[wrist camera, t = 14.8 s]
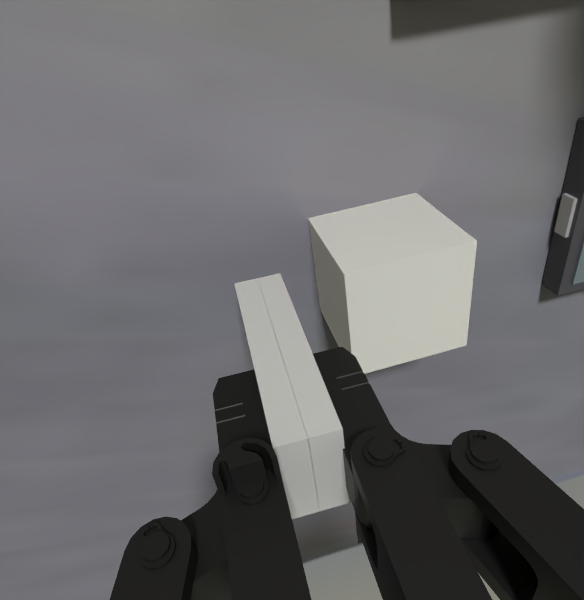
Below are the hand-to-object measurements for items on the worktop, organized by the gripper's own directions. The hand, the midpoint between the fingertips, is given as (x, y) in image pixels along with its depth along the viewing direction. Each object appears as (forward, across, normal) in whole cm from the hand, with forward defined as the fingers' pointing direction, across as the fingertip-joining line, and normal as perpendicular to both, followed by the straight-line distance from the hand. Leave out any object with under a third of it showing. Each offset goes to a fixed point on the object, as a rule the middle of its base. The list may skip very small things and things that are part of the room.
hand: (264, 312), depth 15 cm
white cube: (+2, +4, 0) cm, 5 cm away
